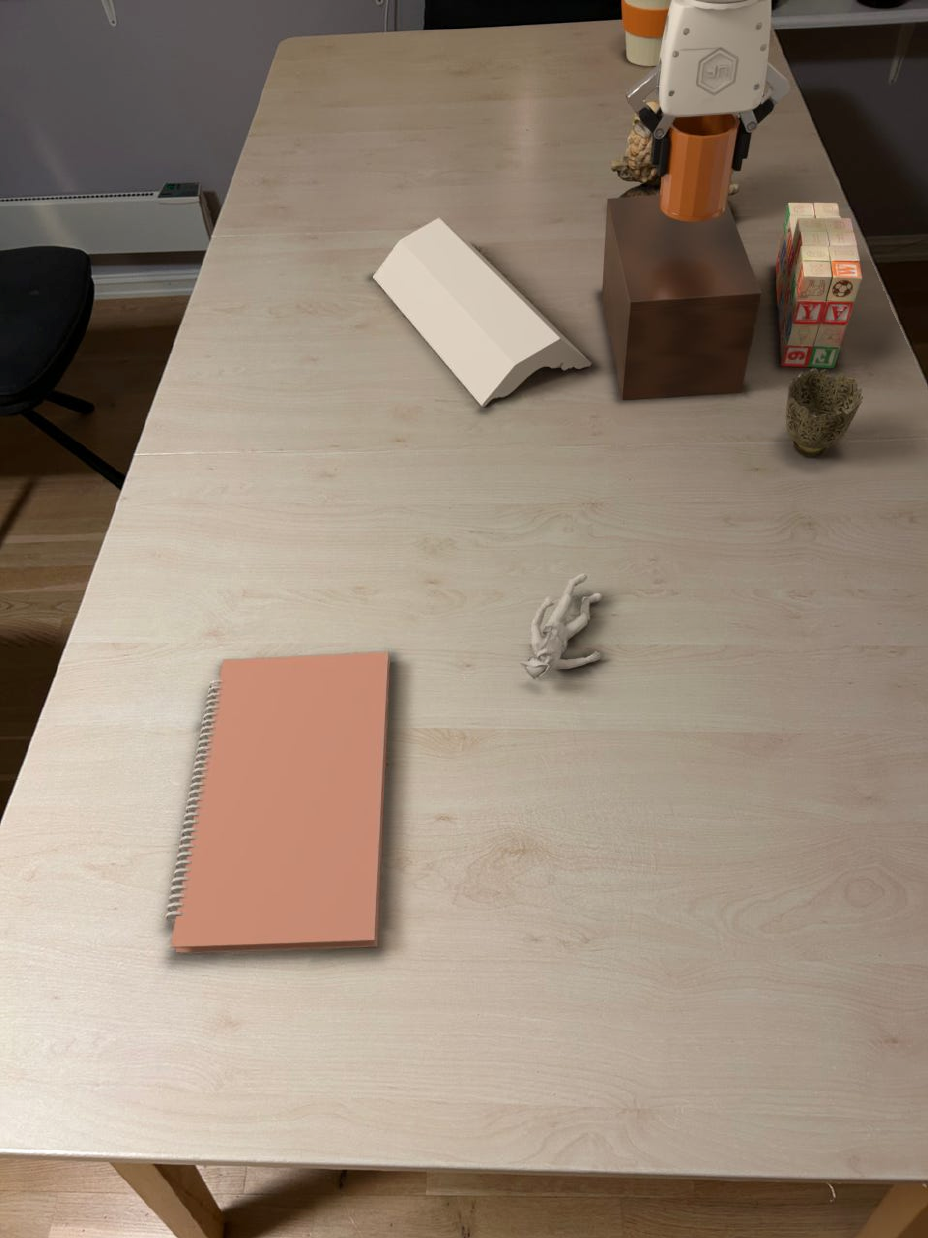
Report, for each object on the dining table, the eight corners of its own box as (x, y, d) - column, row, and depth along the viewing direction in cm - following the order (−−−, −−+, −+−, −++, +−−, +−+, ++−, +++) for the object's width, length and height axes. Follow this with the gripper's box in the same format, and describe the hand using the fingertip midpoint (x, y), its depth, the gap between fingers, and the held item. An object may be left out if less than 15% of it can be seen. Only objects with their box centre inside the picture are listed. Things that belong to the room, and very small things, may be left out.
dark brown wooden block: (707, 287, 124) (723, 189, 113) (741, 392, 110) (761, 292, 100) (601, 294, 124) (607, 198, 114) (622, 400, 111) (630, 301, 100)
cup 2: (852, 438, 104) (872, 379, 98) (832, 479, 100) (851, 421, 94) (786, 418, 107) (802, 360, 100) (764, 458, 103) (779, 400, 97)
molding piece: (420, 309, 137) (372, 276, 130) (470, 243, 133) (424, 205, 126) (529, 435, 118) (481, 405, 111) (591, 363, 115) (546, 327, 107)
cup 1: (719, 186, 105) (732, 102, 98) (731, 219, 101) (746, 134, 94) (654, 190, 106) (663, 107, 99) (664, 224, 101) (674, 139, 94)
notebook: (216, 670, 90) (211, 658, 88) (390, 661, 89) (387, 649, 88) (163, 954, 73) (155, 946, 71) (377, 947, 72) (373, 938, 71)
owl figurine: (603, 231, 134) (609, 107, 120) (613, 190, 141) (621, 68, 127) (731, 239, 130) (753, 111, 117) (736, 196, 137) (757, 71, 124)
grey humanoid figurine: (621, 618, 92) (592, 689, 82) (582, 638, 95) (550, 708, 85) (574, 557, 90) (539, 623, 81) (536, 579, 93) (498, 645, 83)
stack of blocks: (773, 268, 125) (793, 177, 116) (822, 269, 124) (845, 178, 115) (781, 367, 112) (803, 274, 103) (835, 369, 111) (863, 276, 102)
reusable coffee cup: (649, 35, 175) (657, -60, 163) (701, 53, 168) (713, -45, 157) (602, 57, 170) (606, -40, 158) (653, 76, 164) (662, -23, 152)
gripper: (633, -1, 84) (620, 191, 98) (828, -16, 83) (787, 179, 97) (623, -31, 89) (611, 156, 103) (808, -45, 88) (771, 145, 102)
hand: (697, 166), depth 100 cm, fingers closed on cup 1, 7 cm apart
